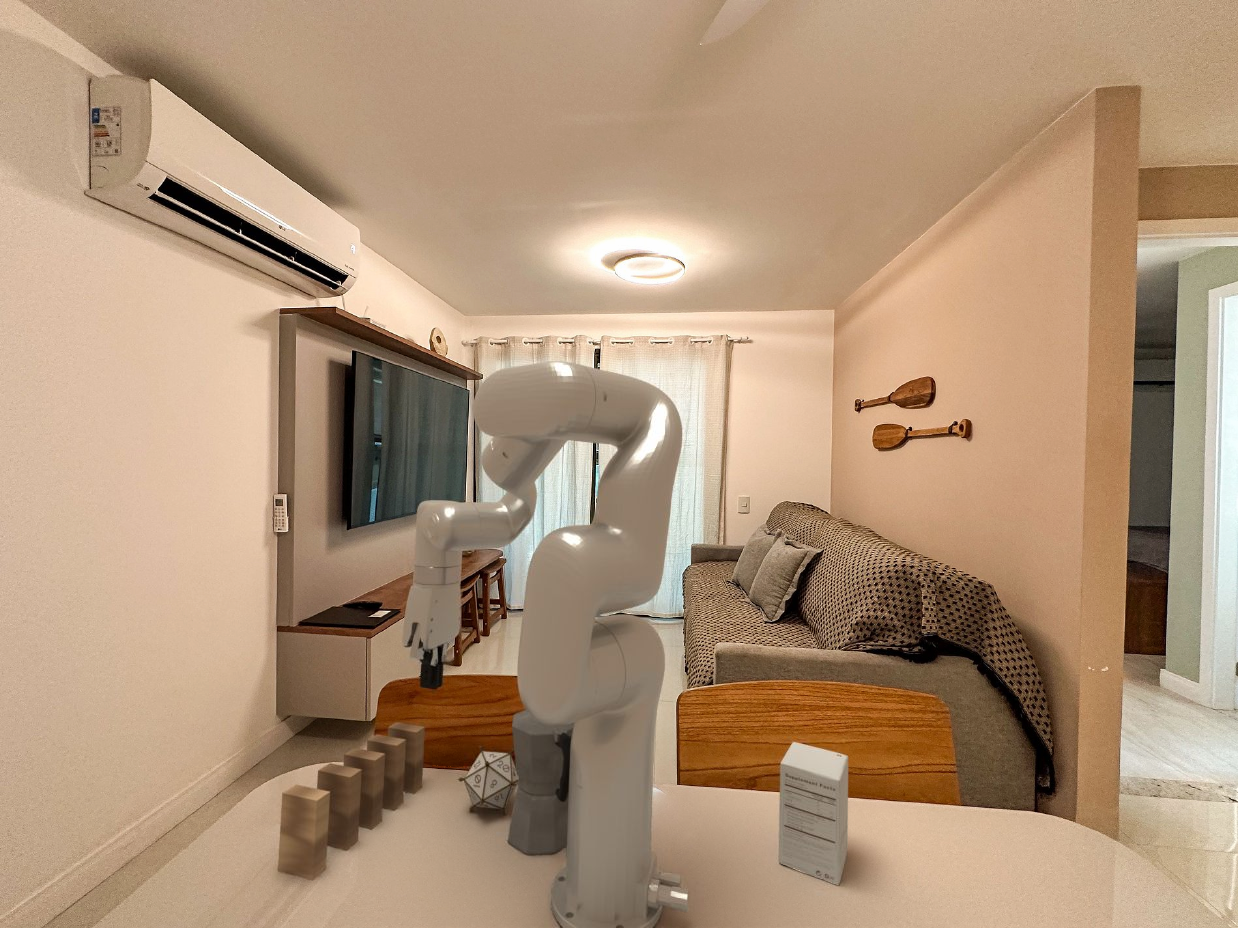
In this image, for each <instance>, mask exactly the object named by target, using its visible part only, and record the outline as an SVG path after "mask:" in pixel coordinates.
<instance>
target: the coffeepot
mask: <svg viewBox="0 0 1238 928" xmlns="http://www.w3.org/2000/svg"><path fill="white" fill-rule="evenodd" d="M574 724H575V722H574V723H571V724H567V725H563V726H555V727H553V726H546V725H542V724H540V723H538V722H537V721H535V720H534V719H533V718H532V717H531V716H530V715H529V714H528V712H527V711H526V709H525V708H524V710H522V711H519V712H516V713H515V714H513V718H512V724H511V725H512V726H511V729H512V730H511V731H512V739H513V748H514V759H515V761H514V762H515V767H516V771H517V775H518V776H519V779H518V784H517V786H516V792H515V798H514V803H513V807H512V813H511V819H510V824H509V831H508V837H507V842H508V843H509V844H510V845H511V847H513V848H514V849H515V850H517V851H519V853H520V852H521V853H523V854H526V855H530V856H531V855H532V856H545V855H551V854H555V853H558V852H560V851H561V850H563V849H565V848H567V830H568V802H569V774H570V747H571V738H572V732H573V728H574Z"/></svg>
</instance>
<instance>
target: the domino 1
mask: <svg viewBox="0 0 1238 928" xmlns="http://www.w3.org/2000/svg"><path fill="white" fill-rule="evenodd" d="M281 794H282V795H281V806H280V807H281V809H280V810H281V811H280V824H279V825H280V829H279V846H278V858H277V859H278V860H277V861H278V863H277V864H278V865H277V872H280V873H285V874H288V875H292V876H295V877H299V878H302V879H306V880H311V881H314V879H316V878H317V877H318V876H319V875H321V873H323V872H324V871H325V870H326V869H327V855H328V853H327V851H328V846H327V838H328V820H329V802H330V792H329V791H324V790H320V789H317V788H313V787H309V786H305V785H300V784H294V785H293V786H291V787H290V788H288V789H287V790H285V791H283V792H282V793H281Z"/></svg>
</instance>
